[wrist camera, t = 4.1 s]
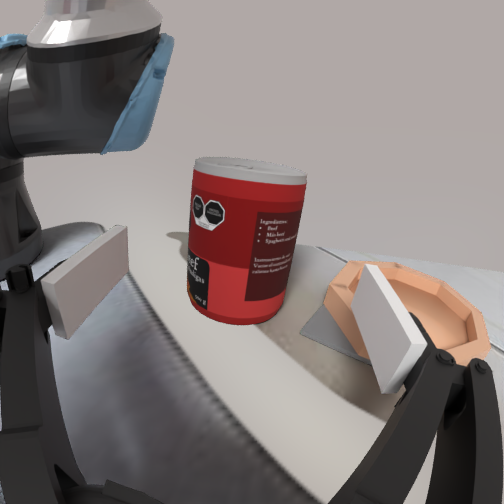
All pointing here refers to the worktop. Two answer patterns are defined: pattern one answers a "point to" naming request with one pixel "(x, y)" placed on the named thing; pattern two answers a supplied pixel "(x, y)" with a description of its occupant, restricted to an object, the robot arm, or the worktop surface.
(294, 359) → the worktop surface
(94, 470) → the worktop surface
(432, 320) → the bowl
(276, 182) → the canned food
